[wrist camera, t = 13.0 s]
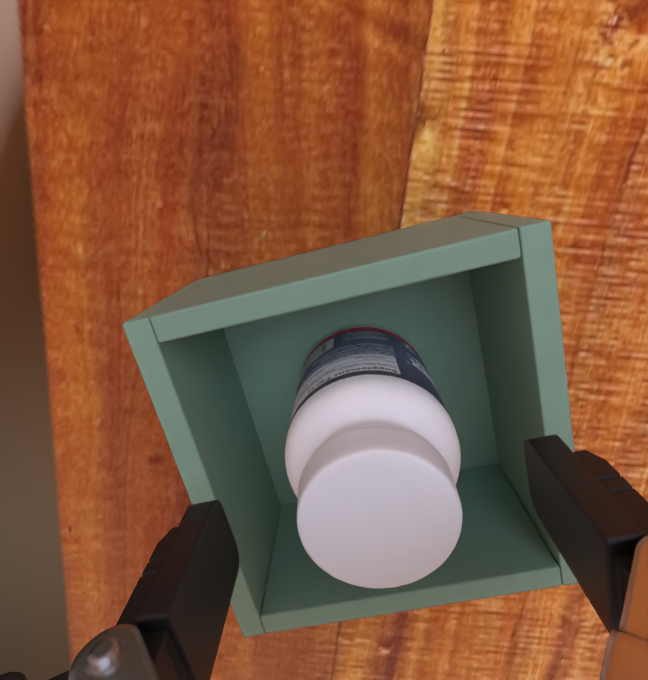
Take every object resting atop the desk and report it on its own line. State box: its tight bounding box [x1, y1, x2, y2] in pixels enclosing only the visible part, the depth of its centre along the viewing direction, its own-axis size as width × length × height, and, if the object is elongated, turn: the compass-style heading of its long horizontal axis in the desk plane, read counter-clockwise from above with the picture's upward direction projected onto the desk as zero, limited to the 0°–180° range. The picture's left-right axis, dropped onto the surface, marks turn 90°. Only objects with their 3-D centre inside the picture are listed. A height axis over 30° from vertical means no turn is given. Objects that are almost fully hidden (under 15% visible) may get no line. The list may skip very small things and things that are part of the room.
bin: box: [122, 211, 578, 637], centre depth 17 cm, size 12×12×7 cm
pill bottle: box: [285, 325, 462, 588], centre depth 15 cm, size 5×5×9 cm
